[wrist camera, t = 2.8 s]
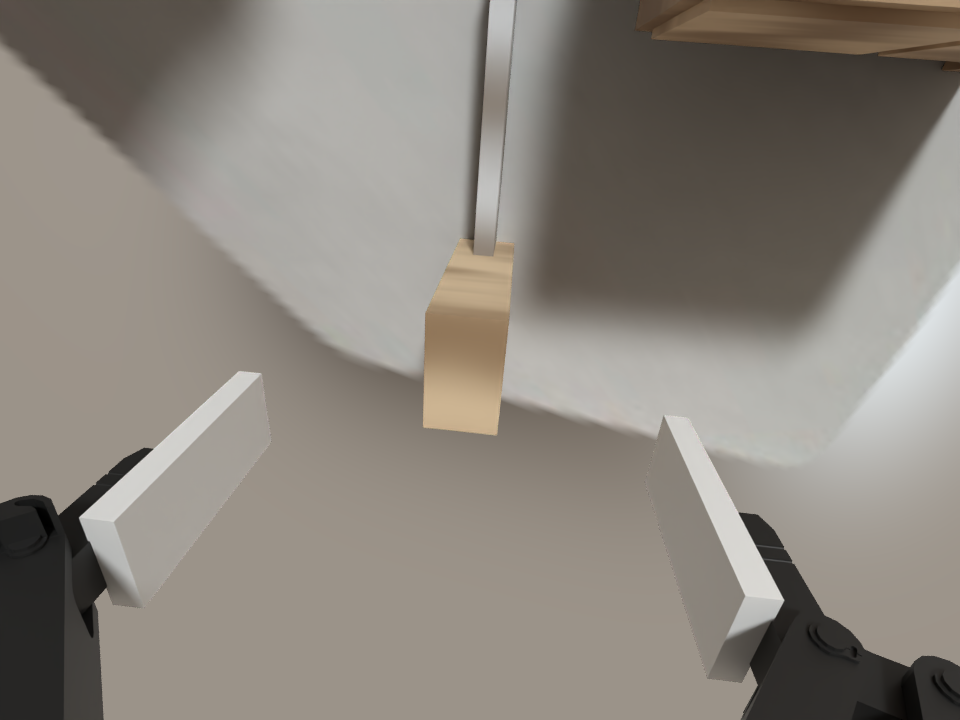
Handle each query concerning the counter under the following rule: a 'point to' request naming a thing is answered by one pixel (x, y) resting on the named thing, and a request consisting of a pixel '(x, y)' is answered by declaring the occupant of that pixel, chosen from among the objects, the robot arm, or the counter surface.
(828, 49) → the small wooden cabinet
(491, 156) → the wood and metal l-shape
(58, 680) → the robot arm
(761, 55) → the counter surface
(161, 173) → the counter surface
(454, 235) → the counter surface
